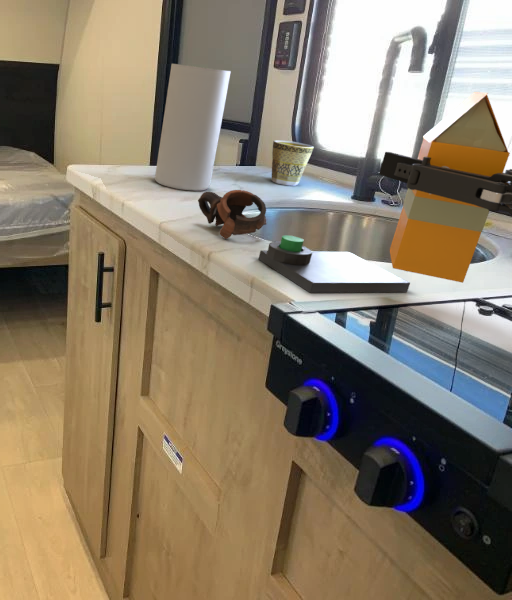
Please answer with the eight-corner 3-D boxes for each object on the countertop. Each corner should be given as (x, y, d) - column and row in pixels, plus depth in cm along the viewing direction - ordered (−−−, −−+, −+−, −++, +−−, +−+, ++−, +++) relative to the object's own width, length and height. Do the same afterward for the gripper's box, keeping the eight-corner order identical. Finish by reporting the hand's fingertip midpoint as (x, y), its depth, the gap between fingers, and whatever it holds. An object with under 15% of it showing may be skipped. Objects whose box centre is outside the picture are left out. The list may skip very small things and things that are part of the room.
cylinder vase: (153, 176, 141) (170, 63, 132) (206, 183, 141) (226, 70, 132) (155, 186, 130) (173, 63, 120) (212, 194, 130) (234, 71, 120)
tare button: (292, 247, 87) (295, 235, 86) (304, 253, 84) (307, 242, 84) (275, 246, 86) (278, 235, 85) (286, 253, 83) (289, 241, 83)
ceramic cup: (298, 189, 149) (308, 148, 145) (259, 181, 153) (268, 141, 150) (311, 183, 159) (320, 145, 156) (275, 176, 164) (283, 138, 160)
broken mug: (263, 234, 104) (279, 200, 98) (242, 268, 99) (258, 233, 92) (202, 204, 107) (214, 168, 100) (178, 235, 101) (189, 199, 95)
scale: (346, 260, 94) (351, 242, 92) (407, 292, 82) (414, 271, 81) (255, 259, 88) (259, 239, 87) (307, 293, 77) (312, 271, 76)
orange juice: (453, 262, 75) (512, 96, 68) (464, 283, 68) (531, 98, 60) (387, 249, 78) (436, 87, 70) (390, 268, 70) (446, 87, 62)
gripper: (497, 254, 51) (335, 192, 71) (666, 256, 59) (477, 199, 78) (530, 167, 49) (352, 127, 68) (704, 180, 56) (498, 140, 75)
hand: (419, 165), depth 73 cm, fingers closed on orange juice, 10 cm apart
